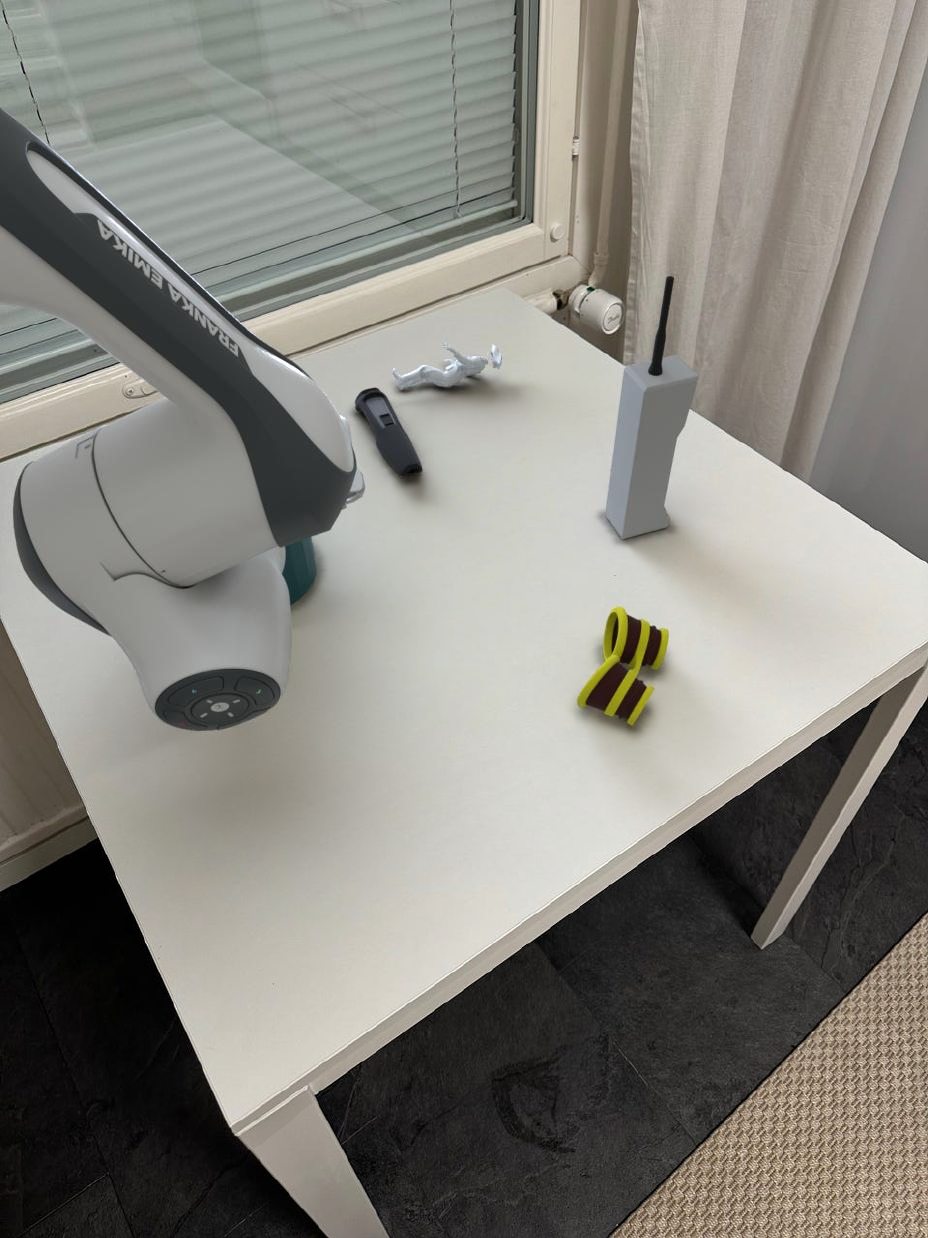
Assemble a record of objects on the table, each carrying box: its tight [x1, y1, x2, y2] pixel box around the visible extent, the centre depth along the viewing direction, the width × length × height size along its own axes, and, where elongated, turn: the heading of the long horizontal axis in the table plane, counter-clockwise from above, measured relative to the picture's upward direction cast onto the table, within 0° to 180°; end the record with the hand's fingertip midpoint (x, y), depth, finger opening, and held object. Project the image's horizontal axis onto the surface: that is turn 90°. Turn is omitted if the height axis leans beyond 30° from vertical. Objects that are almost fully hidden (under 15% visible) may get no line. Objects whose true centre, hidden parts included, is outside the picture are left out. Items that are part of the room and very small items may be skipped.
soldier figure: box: [392, 342, 503, 391], centre depth 101 cm, size 8×5×12 cm
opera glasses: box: [576, 606, 670, 727], centre depth 71 cm, size 10×5×5 cm, turn 159°
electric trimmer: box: [354, 387, 423, 478], centre depth 94 cm, size 4×16×3 cm, turn 21°
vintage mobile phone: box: [604, 275, 699, 540], centre depth 77 cm, size 4×5×25 cm
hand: (215, 410), depth 70 cm, fingers closed on brush, 2 cm apart
